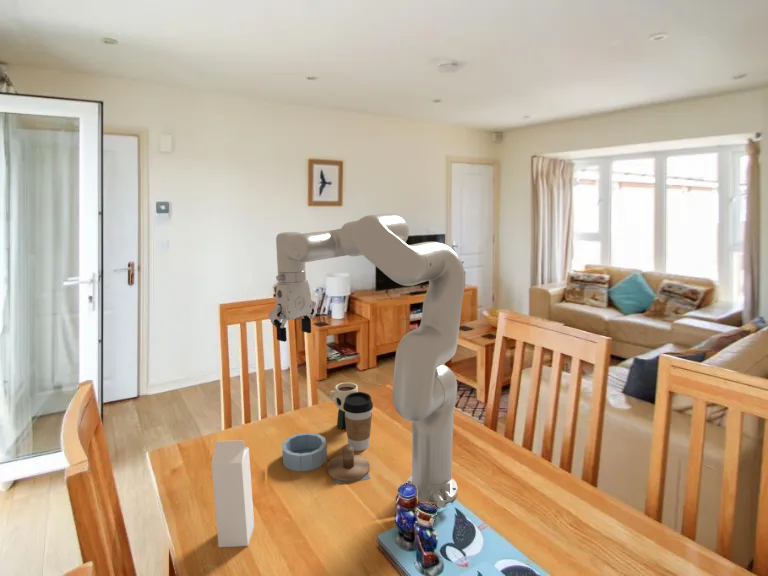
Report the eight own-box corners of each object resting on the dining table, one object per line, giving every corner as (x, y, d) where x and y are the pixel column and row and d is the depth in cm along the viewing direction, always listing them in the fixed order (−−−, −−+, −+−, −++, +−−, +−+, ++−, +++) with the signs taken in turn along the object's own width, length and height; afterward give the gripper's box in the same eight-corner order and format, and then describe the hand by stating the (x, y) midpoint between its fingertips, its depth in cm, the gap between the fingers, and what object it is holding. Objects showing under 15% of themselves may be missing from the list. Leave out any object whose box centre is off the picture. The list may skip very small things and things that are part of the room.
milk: (226, 527, 100) (218, 433, 96) (255, 526, 101) (248, 432, 96) (218, 548, 94) (209, 449, 90) (248, 546, 95) (240, 447, 90)
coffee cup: (375, 439, 136) (374, 392, 133) (371, 455, 127) (370, 405, 125) (346, 438, 137) (345, 391, 134) (341, 454, 128) (340, 403, 125)
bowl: (329, 469, 121) (328, 451, 120) (284, 476, 118) (283, 458, 117) (323, 446, 132) (323, 430, 131) (282, 452, 129) (281, 436, 128)
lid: (373, 477, 116) (373, 456, 115) (330, 484, 114) (330, 462, 113) (364, 455, 127) (364, 435, 126) (325, 461, 124) (324, 440, 123)
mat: (370, 480, 116) (370, 478, 116) (334, 486, 114) (334, 484, 114) (361, 457, 127) (361, 455, 127) (328, 462, 124) (328, 460, 124)
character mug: (326, 429, 142) (325, 389, 140) (334, 418, 149) (333, 380, 146) (360, 433, 139) (359, 393, 137) (367, 422, 146) (366, 383, 144)
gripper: (277, 283, 119) (281, 346, 123) (323, 274, 133) (324, 331, 137) (258, 280, 124) (261, 341, 127) (304, 271, 138) (306, 327, 141)
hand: (294, 336), depth 132 cm, fingers open, 9 cm apart
